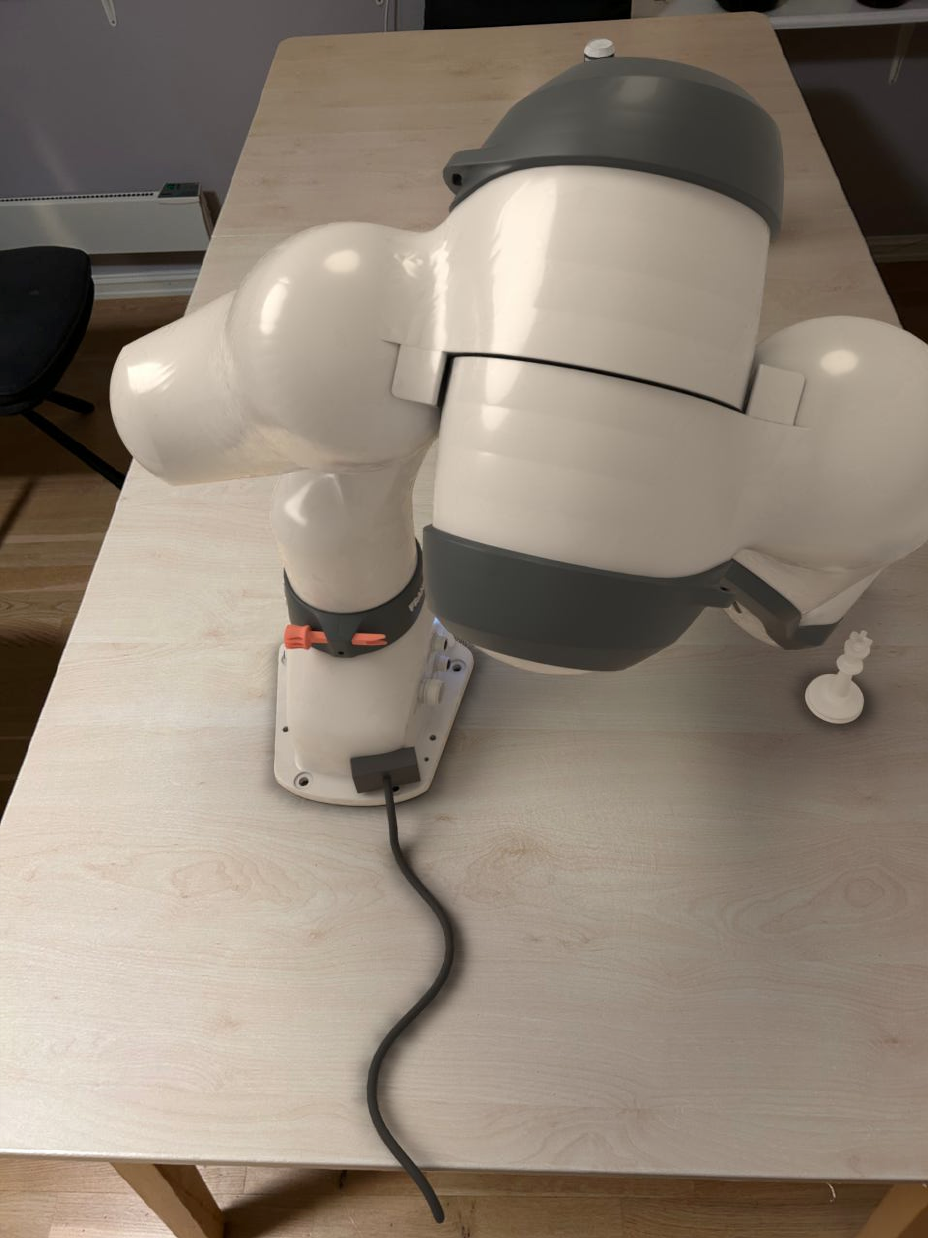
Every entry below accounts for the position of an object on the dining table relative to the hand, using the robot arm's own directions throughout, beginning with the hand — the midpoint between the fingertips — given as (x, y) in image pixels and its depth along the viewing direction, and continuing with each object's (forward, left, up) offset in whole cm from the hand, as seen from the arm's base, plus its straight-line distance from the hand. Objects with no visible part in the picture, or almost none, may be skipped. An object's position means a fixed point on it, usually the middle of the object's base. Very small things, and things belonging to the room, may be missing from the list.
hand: (802, 458), depth 89 cm
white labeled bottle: (+91, +21, -9) cm, 93 cm away
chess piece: (-21, -2, -9) cm, 24 cm away
